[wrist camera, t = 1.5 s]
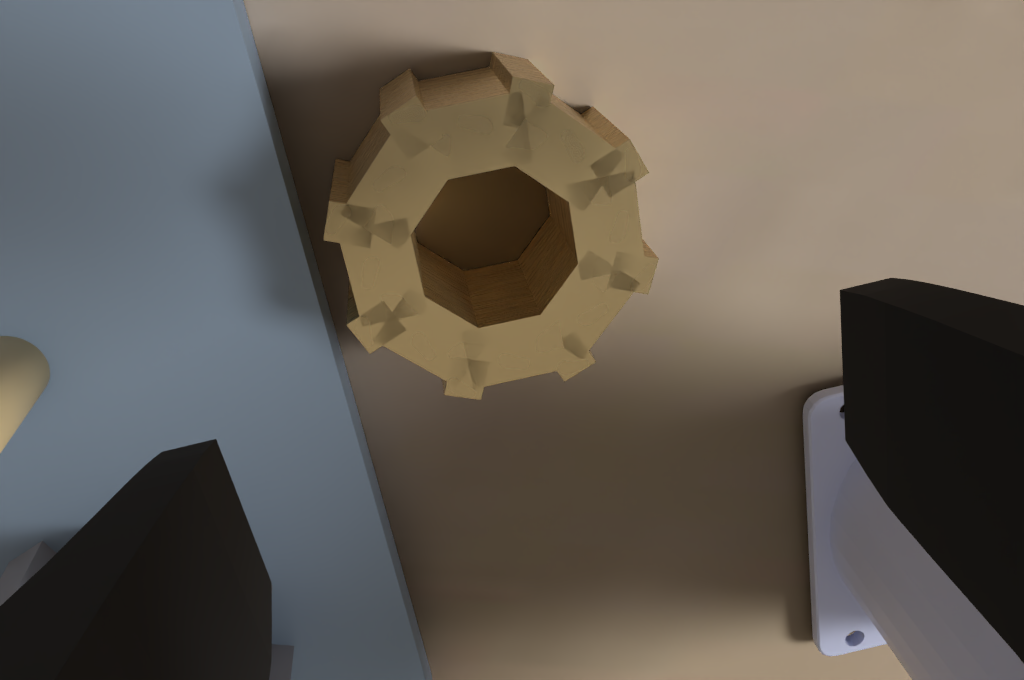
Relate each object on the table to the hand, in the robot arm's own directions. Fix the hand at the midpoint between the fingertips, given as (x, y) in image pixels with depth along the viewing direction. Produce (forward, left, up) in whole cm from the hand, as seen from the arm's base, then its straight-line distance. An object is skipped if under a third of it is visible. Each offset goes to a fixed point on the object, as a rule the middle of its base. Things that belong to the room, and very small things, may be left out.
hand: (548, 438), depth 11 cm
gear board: (+9, +1, -9) cm, 13 cm away
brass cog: (0, 0, -9) cm, 9 cm away
